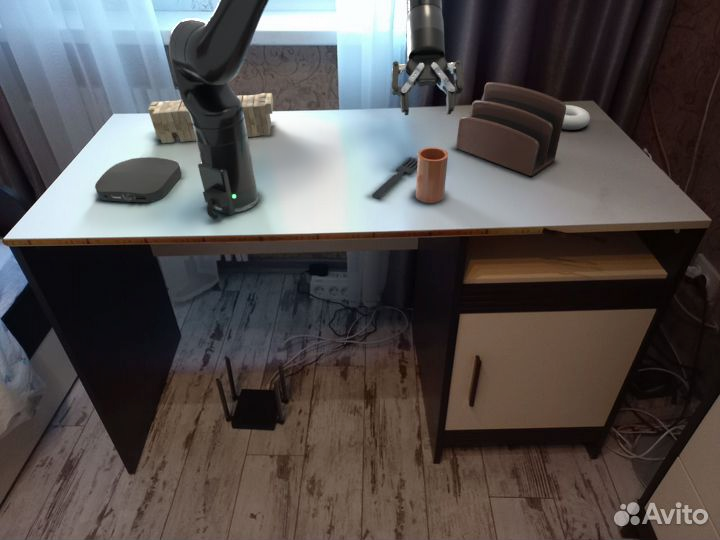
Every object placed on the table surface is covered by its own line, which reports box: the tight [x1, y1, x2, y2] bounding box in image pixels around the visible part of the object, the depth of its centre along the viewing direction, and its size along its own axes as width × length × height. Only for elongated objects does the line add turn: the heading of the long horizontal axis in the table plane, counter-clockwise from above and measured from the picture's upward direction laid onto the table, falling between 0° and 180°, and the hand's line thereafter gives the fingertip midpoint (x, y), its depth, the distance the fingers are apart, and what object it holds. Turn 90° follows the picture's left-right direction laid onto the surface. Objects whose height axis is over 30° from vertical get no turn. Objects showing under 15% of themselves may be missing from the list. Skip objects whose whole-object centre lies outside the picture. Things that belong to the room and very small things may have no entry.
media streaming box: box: [94, 156, 182, 203], centre depth 106 cm, size 15×15×3 cm
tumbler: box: [415, 146, 449, 204], centre depth 99 cm, size 6×6×9 cm
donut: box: [562, 104, 591, 131], centre depth 125 cm, size 10×4×10 cm
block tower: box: [147, 92, 274, 144], centre depth 124 cm, size 8×8×29 cm
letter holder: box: [455, 81, 567, 177], centre depth 110 cm, size 10×20×14 cm, turn 45°
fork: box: [371, 156, 418, 200], centre depth 107 cm, size 18×3×1 cm, turn 149°
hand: (428, 113), depth 101 cm, fingers open, 8 cm apart
